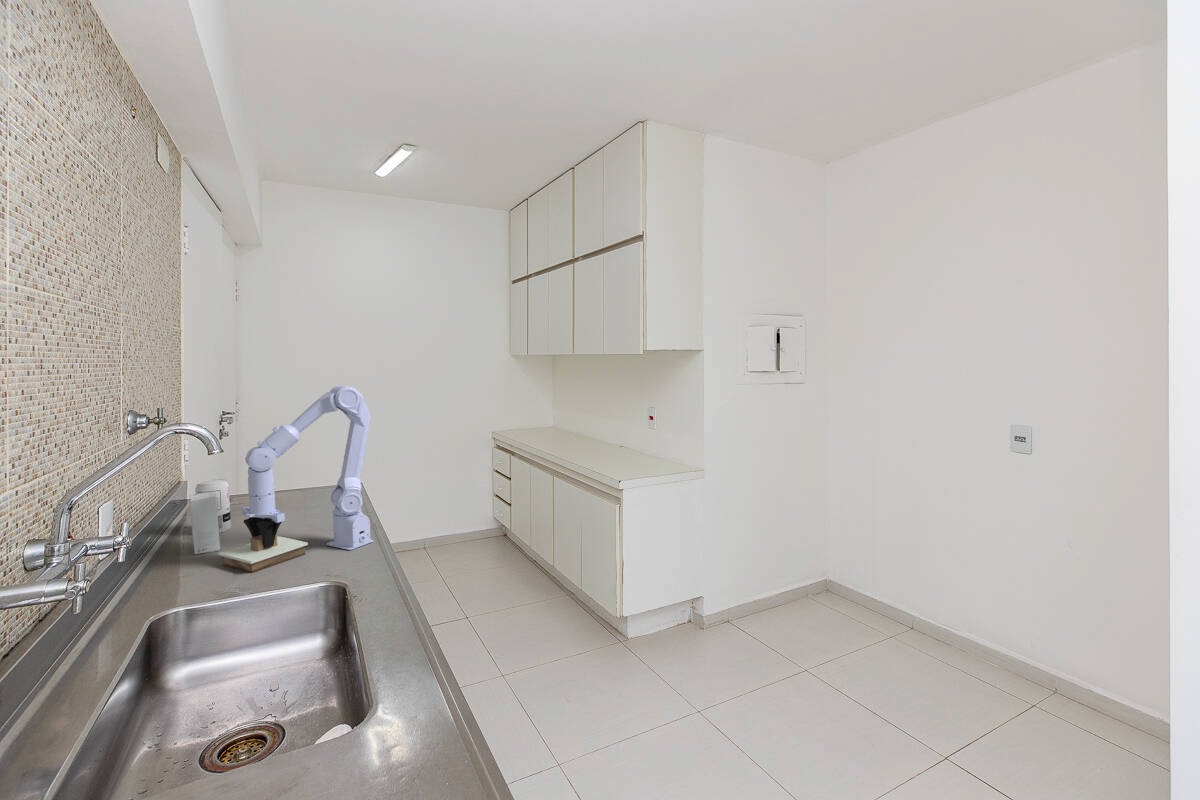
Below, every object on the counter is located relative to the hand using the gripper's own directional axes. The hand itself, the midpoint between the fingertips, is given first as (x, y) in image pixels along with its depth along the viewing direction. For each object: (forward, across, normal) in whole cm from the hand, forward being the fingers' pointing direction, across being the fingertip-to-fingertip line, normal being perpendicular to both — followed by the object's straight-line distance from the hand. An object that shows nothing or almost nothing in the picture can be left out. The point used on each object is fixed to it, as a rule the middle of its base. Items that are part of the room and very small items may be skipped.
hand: (264, 545), depth 143 cm
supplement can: (+4, -36, +8) cm, 37 cm away
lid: (+1, 0, 0) cm, 1 cm away
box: (+4, 0, 0) cm, 4 cm away
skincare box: (+4, -22, -2) cm, 22 cm away
